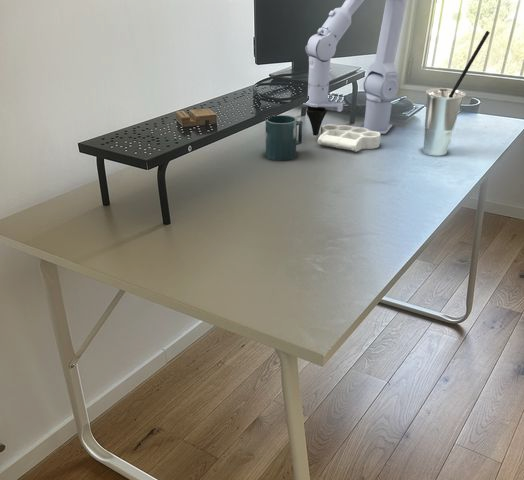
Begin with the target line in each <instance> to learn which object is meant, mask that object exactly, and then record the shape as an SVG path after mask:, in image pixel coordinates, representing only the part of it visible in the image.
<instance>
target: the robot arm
mask: <svg viewBox="0 0 524 480" xmlns="http://www.w3.org/2000/svg"><path fill="white" fill-rule="evenodd" d="M364 1H365V0H344V2H343V4H342V5H341V6H340V7H335V8H334V9H333V10H330V12H329V13H328V17H327V18H326V20H325V22H324V23H323V24H322V26H321V27H319V28H318V30H317V33H314V34H313V35H311V36H310V37H309V39H308V41H307V44H306V45H305V48H304V49H305V53H306V54H307V56H308V78H307V79H308V82H307V97H308V96H309V100H308V101H307V102H306V103H303V104H302V105H300V106H298V107H299V108H307V110H306V115H307V117H308V119H309V122H310V126H311V130H312V136H315V137H316V136H318V135H320V131H321V127H322V123H323V121H324V118H325V116H326V114H327V113H328V111H337V112H338V113H339V112H340V113H341V112H342V111H344V102H341V101H334V100H329V89H330V72H331V59H332V58H333V57H334V56H335V54H336V51H337V45H338V44H339V41H340V40H341V38H342V37H343V36H344V35H345V33H346V32H347V31H348V29H349V28H350V26H351V25H352V16H353V15H354V13H355V12H356V11H357V10H358V9H359V7H360V6H362V4H363V2H364ZM407 2H408V0H385V4H384V8H383V9H384V10H383V15H382V21H381V27H380V30H379V31H380V32H379V37H378V43H377V48H376V53H375V58H374V59H375V60H374V61H373V62H372V64H370V65H369V66H368V69H367V73H366V76H365V77H364V79H363V83H362V86H363V87H362V88H363V91H364V92H365V97H366V101H365V102H366V103H365V113H364V122H363V125H362V128H366V129H368V130H370V131H376V132H379V133H380V134H381V135H387V133H388V131H390V129H392V127H393V124H390V123H391V113H392V107H393V106H392V105H393V104H392V101H393V99H394V98H395V97H396V95H397V93H398V90H399V81H398V80H399V71H398V69H397V67H396V65H395V62H396V55H397V52H398V47H399V42H400V38H401V37H400V36H401V32H402V31H401V30H402V26H403V23H404V22H403V21H404V16H405V11H406V6H407Z"/></svg>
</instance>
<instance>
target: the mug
mask: <svg viewBox="0 0 524 480" xmlns="http://www.w3.org/2000/svg"><path fill="white" fill-rule="evenodd" d="M273 116H274V117H272V118H270V119H268V120H266V119H265V157H266V158H267V159H269V160H272V161H281V162H282V161H284V162H285V161H290V160H293V159H295V158H296V156H297V146H298V145H301V144H302V143H303V120H298V118H297V117H295V116H293V115H287V114H277V116H275V115H273ZM297 135H298V136H297ZM297 137H298V139H297Z"/></svg>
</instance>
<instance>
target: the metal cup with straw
mask: <svg viewBox="0 0 524 480" xmlns="http://www.w3.org/2000/svg"><path fill="white" fill-rule="evenodd" d="M490 34H491V32H490V31H488V30H486V31H485V33H484V35H483V36H482V38H481V39H480V42H479V43H478V45H477V47H476V49H475V50H474V52H473V54H472V55H471V56H470V59H469V60H468V62H467V64H466V66H465V67H464V69H463V70H462V72H461V74H460V76H459V78H458V79H457V81H456V83H455V85H454V86H453V88H447V87H445V88H444V87H437V88H430V89H427V90H426V91H425V94H426V105H425V118H424V119H425V120H424V136H423V149H422V152H423V153H424V154H425V155H429V156H434V157H435V156H436V157H438V156H439V157H441V156H445V155H446V154H447V153H448V149H449V145H450V143H451V139H452V135H453V132H454V129H455V126H456V123H457V119H458V116H459V113H460V109H461V106H462V103H463V99H464V97H465V96H467V94H466V92H465V91H463V90H459V86H460V85H461V84H462V81H463V79H464V78H465V76H466V74H467V73H468V71H469V69H470V68H471V66H472V64H473V63H474V61H475V59H476V57H477V56H478V55H479V53H480V50H481V49H482V47H483V46H484V43H485V42H486V41H487V38H488V37H489V35H490Z"/></svg>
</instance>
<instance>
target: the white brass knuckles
mask: <svg viewBox="0 0 524 480" xmlns="http://www.w3.org/2000/svg"><path fill="white" fill-rule="evenodd" d="M362 127H363V126H362ZM362 127H360V126H354V125H348V124H346V125H345V124H343V125H342V124H341V125H339V124H334V123H329V124H328V123H327V124H323V125H321V126H320V134H319V137H318V138H317V144H318V145H319V146H326V147H330V148H336V149H338V150H339V149H340V150H346V151H352V152H355V153H357V152H360V151H362V150H374V149H378V148H379V147H380V142H381V136H382V134H380V133H379V132H376V131H370V130H368V129H366V128H362Z"/></svg>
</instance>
